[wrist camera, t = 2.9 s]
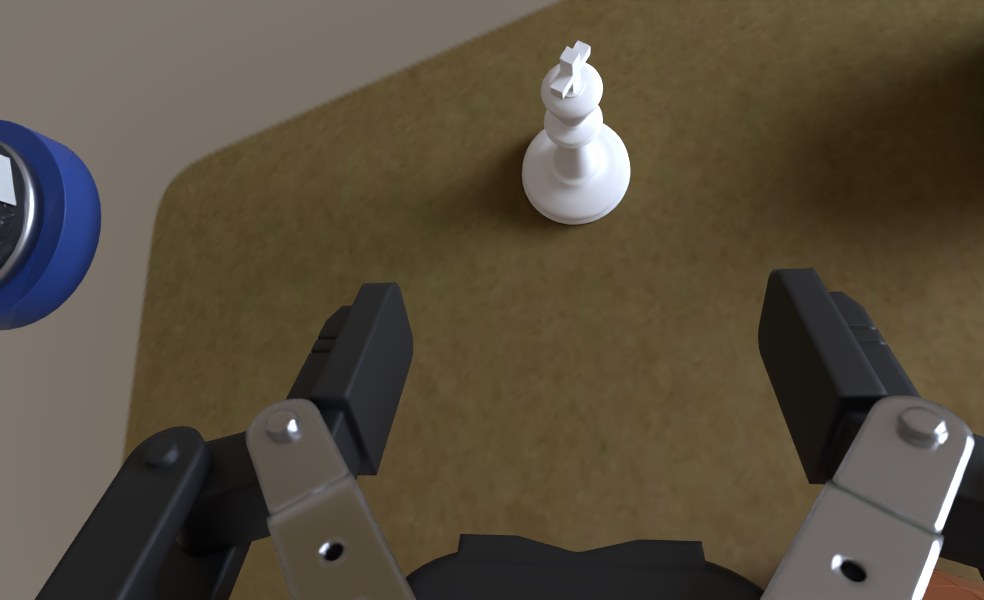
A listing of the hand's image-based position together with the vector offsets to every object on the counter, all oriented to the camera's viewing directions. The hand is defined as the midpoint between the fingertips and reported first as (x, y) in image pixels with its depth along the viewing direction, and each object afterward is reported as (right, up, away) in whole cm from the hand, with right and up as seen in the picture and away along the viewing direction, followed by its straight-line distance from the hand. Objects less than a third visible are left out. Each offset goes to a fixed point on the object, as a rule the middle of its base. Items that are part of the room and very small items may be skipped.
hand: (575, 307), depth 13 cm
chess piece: (+2, +6, +14) cm, 16 cm away
